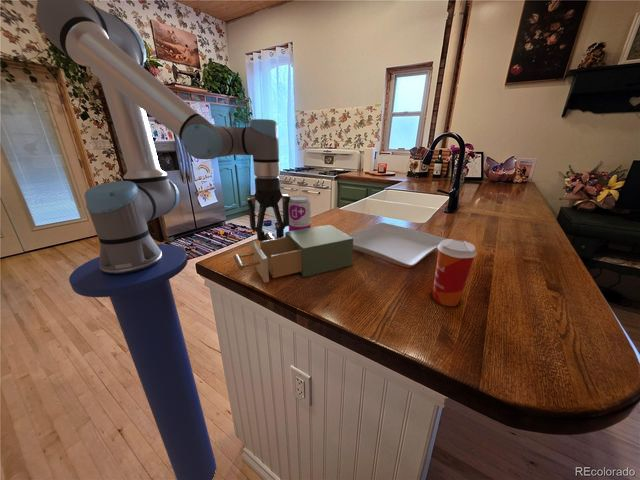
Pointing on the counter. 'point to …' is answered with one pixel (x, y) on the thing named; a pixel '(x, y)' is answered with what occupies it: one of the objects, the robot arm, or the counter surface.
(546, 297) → the counter surface
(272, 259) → the drawer
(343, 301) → the counter surface
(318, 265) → the cabinet
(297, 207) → the supplement can
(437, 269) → the paper cup
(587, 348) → the counter surface
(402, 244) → the square plate
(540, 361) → the counter surface
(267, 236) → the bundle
